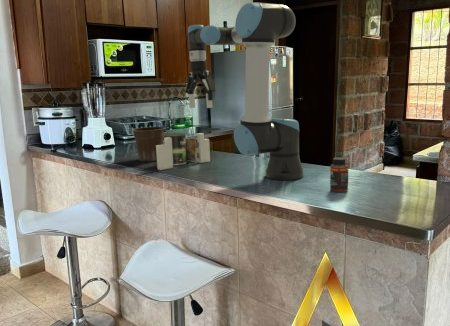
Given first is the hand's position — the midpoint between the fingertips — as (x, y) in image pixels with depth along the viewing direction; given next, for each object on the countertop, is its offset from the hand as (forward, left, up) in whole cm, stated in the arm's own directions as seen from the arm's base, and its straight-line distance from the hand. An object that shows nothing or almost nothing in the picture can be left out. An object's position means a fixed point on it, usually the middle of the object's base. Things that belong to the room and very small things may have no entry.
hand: (200, 107), depth 195 cm
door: (+13, +2, -26) cm, 29 cm away
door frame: (+4, +8, -27) cm, 28 cm away
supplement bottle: (-75, -5, -27) cm, 80 cm away
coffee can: (+11, +8, -27) cm, 30 cm away
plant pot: (+30, +12, -27) cm, 42 cm away
